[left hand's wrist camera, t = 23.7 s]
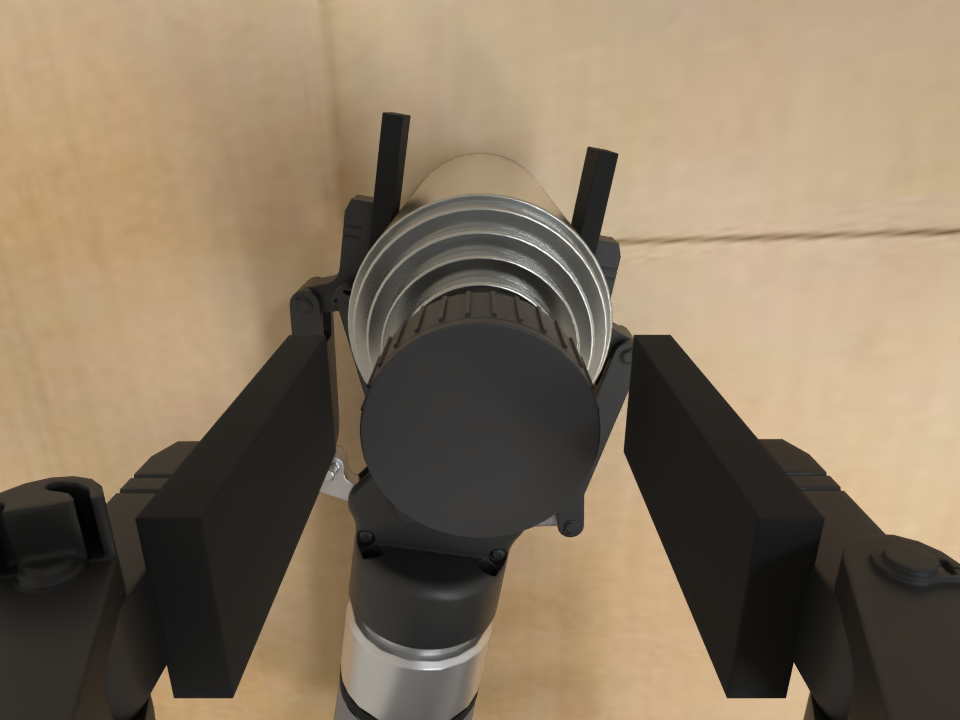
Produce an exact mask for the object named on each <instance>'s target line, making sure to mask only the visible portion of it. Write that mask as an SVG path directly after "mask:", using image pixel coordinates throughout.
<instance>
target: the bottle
mask: <svg viewBox="0 0 960 720" xmlns="http://www.w3.org/2000/svg"><path fill="white" fill-rule="evenodd" d="M466 291H471V293H491V291H495V294H501V295H506V296H510V297H515V296H518V297H519V300H522V301H524V302H527V303H529V304H531V305H532V306H534V307H536V306H537V305H538V306H539V307H541V310H542V312H544V313H545V314H547V315H548V316H549V317H551V318H552V319H553V320H554V321H555V320H556V319H557V320H558V321H559V323H560V326H561V328H562V329H563V331H564V332H565V333H566V335H567V336H568V337H569V338H570V337H572V338H573V340H574V342H575V345H576V347H577V350H578V352H579V355H580V357H581V356H582V358H583V360H584V363H585V365H586V368H587V370H588V373H589V375H590V377H591V380H592V382H593V385H594V383H595V381H596V379H597V378H598V376H599V374H600V372H601V370H602V367H603V365H604V362H605V360H606V357H607V354H608V350H609V345H610V341H611V333H612V305H611V299H610V293H609V289H608V286H607V283H606V280H605V277H604V274H603V272H602V270H601V268H600V266H599V263H598V261H597V259H596V258H595V256H594V255H593V253H592V252H591V250H590V249H589V247H588V246H587V244H586V243H585V242H584V240H583V239H582V238H581V237H580V235H579V234H578V233H577V232H576V230H575V229H574V228H573V226H572V225H571V224H570V223H569V221H568V220H567V219H566V218H565V216H564V215H563V214H562V212H561V211H560V210H559V209H558V207H557V206H556V205H555V204H554V202H553V201H552V200H551V198H550V197H549V196H548V195H547V193H546V192H545V191H544V190H543V188H542V187H541V186H540V184H539V183H538V182H537V181H536V180H535V179H534V177H533V176H532V175H531V174H530V173H529V172H527V171H526V170H525V169H524V168H523V167H521V166H520V165H518V164H516V163H515V162H513V161H511V160H508V159H506V158H503V157H500V156H497V155H491V154H469V155H464V156H460V157H457V158H454V159H452V160H449V161H447V162H446V163H444V164H442V165H440V166H439V167H438V168H436V169H435V170H434V171H432V172H431V173H430V174H429V175H428V176H427V177H426V178H425V180H424V181H423V182H422V184H421V185H420V186H419V187H418V189H417V190H416V191H415V193H414V194H413V195H412V196H411V198H410V199H409V200H408V202H407V203H406V204H405V205H404V207H403V208H402V209H401V211H400V212H399V213H398V214H397V216H396V217H395V218H394V219H393V221H392V222H391V223H390V225H389V226H388V227H387V228H386V230H385V231H384V232H383V234H382V235H381V236H380V237H379V239H378V240H377V241H376V243H375V244H374V245H373V247H372V248H371V249H370V251H369V252H368V253H367V255H366V257H365V259H364V261H363V262H362V264H361V266H360V268H359V270H358V273H357V275H356V278H355V280H354V283H353V287H352V291H351V295H350V300H349V309H348V332H349V338H350V344H351V349H352V352H353V355H354V359H355V362H356V365H357V367H358V369H359V371H360V373H361V375H362V377H363V379H364V381H365V382H366V384H368V381H369V379H370V376H371V374H372V371H373V369H374V366H375V364H376V362H377V359H378V357H379V356H381V354H382V352H383V349H384V347H385V344H386V342H387V339H388V337H389V336H391V337H393V335H394V334H395V333H396V331H397V330H398V329H399V328H400V326H401V323H402V321H403V320H404V319H406V320H408V319H409V318H410V317H411V316H413V315H414V314H415V313H416V312H418V311H419V310H420V308H421V306H423V305H425V307H426V306H428V305H430V304H432V303H434V302H436V301H439V300H441V299H442V297H443V296H447V297H451V296H455V295H459V294H466Z"/></svg>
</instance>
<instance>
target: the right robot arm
mask: <svg viewBox="0 0 960 720" xmlns="http://www.w3.org/2000/svg"><path fill="white" fill-rule="evenodd" d="M409 123H410V115H404V114H399V113H393V112H388V113H383V115H382V125H381V134H380V144H379V153H378V163H377V172H376V182H375V191H374V197H368V196H362V195H356V196H355V197H354V198H352V199H351V201H350V202H349V204H348V206H347V208H346V210H345V216H344V227H343V238H342V249H341V260H340V270H339V273H338V274H337V275H334V276H329V277H324V278H321V277H313V278H311V279H309V280H308V281H307V282H306V283H305V284H304V285H303V286H302V287H301V288H300V289H299V290H298V291H297V292H296V293H295V294H294V295H293V296H292V298H291V300H290V313H291V326H292V335H326V340H327V351H328V363H329V374H330V386H331V397H332V408H333V420H334V431H335V443H336V442H337V439H338V433H339V410H338V393H337V375H336V357H335V339H334V322H333V312H334V311H339V312H340V316H341V319H342V322H343V325H344V329H345V332H346V335H347V339H348V342H349V345H350V348H351V344H350V338H349V332H348V309H349V300H350V295H351V291H352V287H353V283H354V280H355V278H356V275H357V273H358V270H359V268H360V266H361V264H362V262H363V261H364V259H365V257H366V255H367V253H368V252H369V251H370V249H371V248H372V247H373V245H374V244H375V243H376V241H377V240H378V239H379V237H380V236H381V235H382V234H383V232H384V231H385V230H386V228H387V227H388V226H389V225H390V223H391V222H392V221H393V219H394V218H395V217H396V216H397V214H398V213H399V207H400V199H401V190H402V182H403V174H404V165H405V157H406V149H407V140H408V132H409ZM617 158H618V154H617V153H614V152H611V151H608V150H604V149H599V148H593V147H588V148H587V153H586V157H585V162H584V167H583V171H582V176H581V181H580V185H579V190H578V195H577V200H576V204H575V209H574V214H573V218H572V223H571V225H572V226H573V228H574V229H575V230H576V232H577V233H578V234H579V235H580V237H581V238H582V239H583V240H584V242H585V243H586V244H587V246H588V247H589V249H590V250H591V252H592V253H593V255H594V256H595V258H596V259H597V261H598V263H599V266H600V268H601V270H602V272H603V274H604V277H605V280H606V283H607V286H608V289H609V293H610V298H611V294H612V290H613V286H614V282H615V278H616V274H617V270H618V266H619V261H620V257H621V256H620V249H619V244H618V243H617V242H616V241H615V240H614V239H613V238H612V237H606V236H600V232H601V228H602V223H603V219H604V215H605V210H606V206H607V202H608V197H609V193H610V189H611V184H612V180H613V176H614V171H615V167H616V163H617ZM633 340H634V338H633V337H632V335H631V334H630V332H629V331H628V329H627V328H626V327H624V326H621V325H617V324H615V323H613V322H612V333H611V341H610V345H609V350H608V354H607V357H606V360H605V362H604V365H603V367H602V370H601V372H600V374H599V376H598V378H597V379H596V381H595V383H594V387H595V389H592V391H593V394H594V396H595V399H596V401H597V404H598V406H599V409H600V412H599V416H600V427H601V429H600V444H599V449H598V453H597V457H596V460H595V463H594V466H593V469H592V471H591V473H590V474H589V476H588V478H587V480H586V482H585V483H584V485H583V486H582V488H581V489H580V491H579V492H578V493H577V494H576V496H575V497H574V498H573V499H572V500H571V501H570V502H569V503H568V504H567V505H566V506H565V507H564V508H562V509H561V510H560V511H559V512H558V513H556V514H555V515H553V516H552V517H550V518H549V519H547V520H546V521H544V522H542V523H540V524H538V525H536V526H557V525H558V530H559V532H560V533H561V534H562V535H564V536H566V537H574V536H577V535H579V534H580V533H581V532H582V530H583V527H584V494H585V491H586V489H587V487H588V484H589V482H590V480H591V477H592V475H593V473H594V470H595V468H596V466H597V463H598V461H599V459H600V456H601V454H602V452H603V449H604V447H605V445H606V442H607V440H608V438H609V435H610V433H611V431H612V428H613V426H614V424H615V421H616V419H617V417H618V414H619V412H620V410H621V407H622V405H623V403H624V400H625V398H626V395H627V393H628V391H629V385H630V374H631V362H632V351H633ZM351 352H352V349H351ZM352 355H353V352H352ZM353 358H354V355H353ZM354 361H355V359H354ZM355 365H356V362H355ZM356 368H357V371H358V374H359V378H360V381H361V384H362V388H363V391H364V394H365V397H366V394H367V392H368V388H366V386H367V384H366V382H365V381H364V379H363V377H362V375H361V373H360V371H359V369H358V367H357V365H356ZM320 492H321V493H324V494H327V495H330V496H333V497H336V498H339V499H342V500H345V501H348V506H349V509H350V511H351V513H352V515H353V517H354V520H355V524H356V533H355V542H354V550H353V559H352V568H351V576H350V585H349V601H348V604H347V609H346V618H345V627H344V637H343V646H342V655H341V666H340V682H339V688H338V695H337V701H336V708H335V714H334V720H472V716H473V710H474V705H475V700H476V697H477V694H478V689H479V685H480V682H481V679H482V674H483V670H484V665H485V661H486V656H487V652H488V647H489V643H490V638H491V634H492V627H493V618H494V616H495V613H496V609H497V604H498V600H499V595H500V591H501V586H502V581H503V577H504V572H505V568H506V563H507V559H508V554H509V550H510V548H511V546H512V544H513V543H514V541H515V540H516V539H517V538H518V537H519V536H520V535H521V534H522V532H523V531H524V530H523V531H521V532H518V533H513V534H509V535H505V536H498V537H490V538H472V537H462V536H456V535H451V534H447V533H443V532H440V531H437V530H434V529H431V528H429V527H427V526H425V525H423V524H421V523H418V522H417V521H415V520H414V519H412V518H410V517H409V516H407V515H406V514H404V513H403V512H402V511H401V510H399V509H398V508H397V507H396V506H395V505H394V504H393V503H392V502H391V501H390V500H389V499H388V498H387V497H386V496H385V495H384V494H383V492H382V491H381V490H380V488H379V487H378V486H377V484H376V483H375V481H374V479H373V477H372V475H371V474H370V472H369V469H368V467H366V468H365V469H364V470H362V471H361V472H360V473H359V474H358V475H357V474H355V473H353V472H352V471H351V470H350V469H349V467H348V456H347V454H346V452H345V451H344V448H343V447H341V446H339V445H336V453H335V456H334V458H333V461H332V463H331V465H330V468H329V470H328V472H327V475H326V477H325V480H324V482H323V484H322V487H321V489H320Z"/></svg>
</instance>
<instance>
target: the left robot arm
mask: <svg viewBox="0 0 960 720" xmlns="http://www.w3.org/2000/svg"><path fill="white" fill-rule="evenodd" d="M335 453H336V443H335V431H334V420H333V408H332V397H331V386H330V374H329V363H328V351H327V340H326V335H289V336H288V337H287V339H286V340H285V341H284V342H283V343H282V345H281V346H280V347H279V348H278V349H277V350H276V352H275V353H274V354H273V355H272V356H271V358H270V359H269V360H268V361H267V362H266V364H265V365H264V366H263V367H262V368H261V369H260V371H259V372H258V373H257V374H256V375H255V377H254V378H253V379H252V380H251V381H250V383H249V384H248V385H247V386H246V387H245V388H244V390H243V391H242V392H241V393H240V394H239V396H238V397H237V398H236V399H235V400H234V402H233V403H232V404H231V405H230V406H229V408H228V409H227V410H226V411H225V412H224V413H223V415H222V416H221V417H220V418H219V419H218V421H217V422H216V423H215V424H214V425H213V427H212V428H211V429H210V430H209V431H208V432H207V434H206V435H205V436H204V437H203V438H202V440H201V441H178V442H176V443H174V444H173V445H171V446H169V447H167V448H166V449H164V450H162V451H160V452H159V453H157V454H155V455H153V456H152V457H150V458H149V460H148V461H147V462H146V463H145V464H144V465H143V466H142V467H141V468H140V469H139V470H138V471H137V472H136V473H135V474H134V478H131V479H130V480H129V481H128V482H127V483H126V484H125V485H124V486H123V487H122V488H121V489H120V493H116V494H115V495H114V497H113V498H112V499H111V500H110V501H109V502H108V503H107V504H106V502H105V497H104V493H103V489H102V486H101V485H99V484H98V483H97V482H95V481H94V480H92V479H88V478H82V477H76V476H70V477H54V478H48V479H43V480H39V481H34V482H30V483H25V484H23V485H20V486H17V487H15V488H12V489H9V490H7V491H4V492H1V493H0V720H155V713H154V707H153V702H152V698H151V694H150V693H151V692H152V690H153V688H154V686H155V685H156V683H157V681H158V679H159V677H160V676H161V674H162V672H163V670H164V669H165V667H166V665H167V668H168V672H169V677H170V681H171V686H172V690H173V695H174V698H233V697H234V694H235V692H236V690H237V687H238V685H239V682H240V680H241V678H242V675H243V673H244V670H245V668H246V666H247V663H248V661H249V659H250V656H251V654H252V651H253V649H254V647H255V644H256V642H257V639H258V637H259V635H260V632H261V630H262V627H263V625H264V623H265V620H266V618H267V616H268V613H269V611H270V608H271V606H272V604H273V601H274V599H275V596H276V594H277V592H278V589H279V587H280V585H281V582H282V580H283V577H284V575H285V573H286V570H287V568H288V565H289V563H290V561H291V558H292V556H293V554H294V551H295V549H296V546H297V544H298V542H299V539H300V537H301V534H302V532H303V530H304V527H305V525H306V523H307V520H308V518H309V515H310V513H311V511H312V508H313V506H314V503H315V501H316V499H317V496H318V494H319V492H320V489H321V487H322V484H323V482H324V480H325V477H326V475H327V472H328V470H329V468H330V465H331V463H332V461H333V458H334V456H335ZM624 453H625V456H626V458H627V461H628V463H629V465H630V468H631V470H632V472H633V475H634V477H635V480H636V482H637V484H638V487H639V489H640V492H641V494H642V496H643V499H644V501H645V503H646V506H647V508H648V511H649V513H650V515H651V518H652V520H653V523H654V525H655V527H656V530H657V532H658V534H659V537H660V539H661V542H662V544H663V546H664V549H665V551H666V554H667V556H668V558H669V561H670V563H671V565H672V568H673V570H674V573H675V575H676V577H677V580H678V582H679V585H680V587H681V589H682V592H683V594H684V597H685V599H686V601H687V604H688V606H689V608H690V611H691V613H692V616H693V618H694V620H695V623H696V625H697V628H698V630H699V632H700V635H701V637H702V639H703V642H704V644H705V647H706V649H707V651H708V654H709V656H710V659H711V661H712V663H713V666H714V668H715V670H716V673H717V675H718V678H719V680H720V682H721V685H722V687H723V690H724V692H725V694H726V697H727V698H786V695H787V690H788V686H789V681H790V677H791V672H792V668H793V663H795V665H796V667H797V669H798V670H799V672H800V674H801V676H802V677H803V679H804V681H805V683H806V684H807V686H808V688H809V690H810V694H809V698H808V702H807V707H806V711H805V715H804V719H803V720H960V564H959V563H958V562H956V561H955V560H953V559H952V558H950V557H949V556H947V555H946V554H944V553H943V552H941V551H939V550H937V549H934V548H932V547H930V546H928V545H925V544H923V543H921V542H919V541H915V540H911V539H907V538H903V537H900V536H896V535H887V534H885V533H884V532H883V531H882V530H881V529H880V528H879V527H878V526H877V525H876V524H875V523H874V522H873V521H872V520H871V519H870V518H869V517H868V516H867V514H866V513H865V512H864V511H863V510H862V509H861V508H860V507H859V506H858V505H857V504H856V503H855V502H854V501H853V500H852V499H851V498H850V497H849V496H848V495H847V493H846V492H845V491H841V490H840V486H839V485H838V484H837V483H836V482H835V481H834V480H833V479H832V478H831V477H830V476H827V475H826V471H825V470H824V469H823V468H822V467H821V466H820V465H819V464H818V463H817V462H816V461H815V460H814V459H813V458H812V457H811V456H810V455H809V454H808V453H806V452H804V451H802V450H801V449H799V448H797V447H795V446H793V445H792V444H790V443H788V442H786V441H785V440H783V439H758V438H757V437H756V436H755V435H754V434H753V432H752V431H751V430H750V429H749V428H748V427H747V425H746V424H745V423H744V422H743V421H742V419H741V418H740V417H739V416H738V415H737V413H736V412H735V411H734V410H733V409H732V408H731V406H730V405H729V404H728V403H727V402H726V400H725V399H724V398H723V397H722V396H721V394H720V393H719V392H718V391H717V390H716V389H715V387H714V386H713V385H712V384H711V383H710V381H709V380H708V379H707V378H706V377H705V375H704V374H703V373H702V372H701V371H700V370H699V368H698V367H697V366H696V365H695V364H694V362H693V361H692V360H691V359H690V358H689V356H688V355H687V354H686V353H685V352H684V350H683V349H682V348H681V347H680V346H679V345H678V343H677V342H676V341H675V340H674V339H673V337H672V336H671V335H634V340H633V351H632V362H631V374H630V385H629V397H628V408H627V420H626V431H625V443H624Z"/></svg>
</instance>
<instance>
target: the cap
mask: <svg viewBox="0 0 960 720" xmlns="http://www.w3.org/2000/svg"><path fill="white" fill-rule="evenodd" d="M366 388H368V392H367V394H366V397H365V399H364V402H363V404H362V407H361V411H362V414H361V422H360V437H361V447H362V451H363V455H364V459H365V462H366V464H367V467H368V469H369V472H370V474H371V475H372V477H373V479H374V481H375V483H376V484H377V486H378V487H379V488H380V490H381V491H382V492H383V494H384V495H385V496H386V497H387V498H388V499H389V500H390V501H391V502H392V503H393V504H394V505H395V506H396V507H397V508H398V509H399V510H401V511H402V512H403V513H404V514H406V515H407V516H409V517H410V518H412V519H414V520H415V521H417V522H418V523H421V524H423V525H425V526H427V527H429V528H431V529H434V530H437V531H440V532H443V533H447V534H451V535H456V536H462V537H472V538H490V537H498V536H505V535H509V534H513V533H518V532H521V531H523V530H526V529H529V528H532V527H534V526H536V525H538V524H540V523H542V522H544V521H546V520H547V519H549V518H550V517H552V516H553V515H555V514H556V513H558V512H559V511H560V510H561V509H562V508H564V507H565V506H566V505H567V504H568V503H569V502H570V501H571V500H572V499H573V498H574V497H575V496H576V494H577V493H578V492H579V491H580V489H581V488H582V486H583V485H584V483H585V482H586V480H587V478H588V476H589V474H590V473H591V471H592V469H593V466H594V463H595V460H596V457H597V453H598V449H599V444H600V429H601V427H600V416H599V412H600V409H599V406H598V404H597V401H596V399H595V396H594V394H593V391H592V389H595V387H594V385H593V382H592V380H591V377H590V375H589V373H588V370H587V368H586V365H585V363H584V360H583V358H582V356H581V357H580V355H579V352H578V350H577V347H576V345H575V342H574V340H573V338H572V337H570V338H569V337H568V336H567V335H566V333H565V332H564V331H563V329H562V328H561V326H560V323H559V321H558V320H557V319H556V320H555V321H554V320H553V319H552V318H551V317H549V316H548V315H547V314H545V313H544V312H542V310H541V307H539V306H538V305H537V306H536V307H534V306H532V305H531V304H529V303H527V302H524V301H522V300H519V297H518V296H515V297H510V296H506V295H501V294H495V291H491V293H471V291H466V294H459V295H455V296H451V297H447V296H443V297H442V299H441V300H439V301H436V302H434V303H432V304H430V305H428V306H426V307H425V305H423V306H421V308H420V310H419V311H418V312H416V313H415V314H414V315H413V316H411V317H410V318H409V319H408V320H406V319H404V320H403V321H402V323H401V326H400V328H399V329H398V330H397V331H396V333H395V334H394V335H393V337H391V336H389V337H388V339H387V342H386V344H385V347H384V349H383V352H382V354H381V356H379V357H378V359H377V362H376V364H375V366H374V369H373V371H372V374H371V376H370V379H369V381H368V384H367V386H366Z"/></svg>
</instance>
